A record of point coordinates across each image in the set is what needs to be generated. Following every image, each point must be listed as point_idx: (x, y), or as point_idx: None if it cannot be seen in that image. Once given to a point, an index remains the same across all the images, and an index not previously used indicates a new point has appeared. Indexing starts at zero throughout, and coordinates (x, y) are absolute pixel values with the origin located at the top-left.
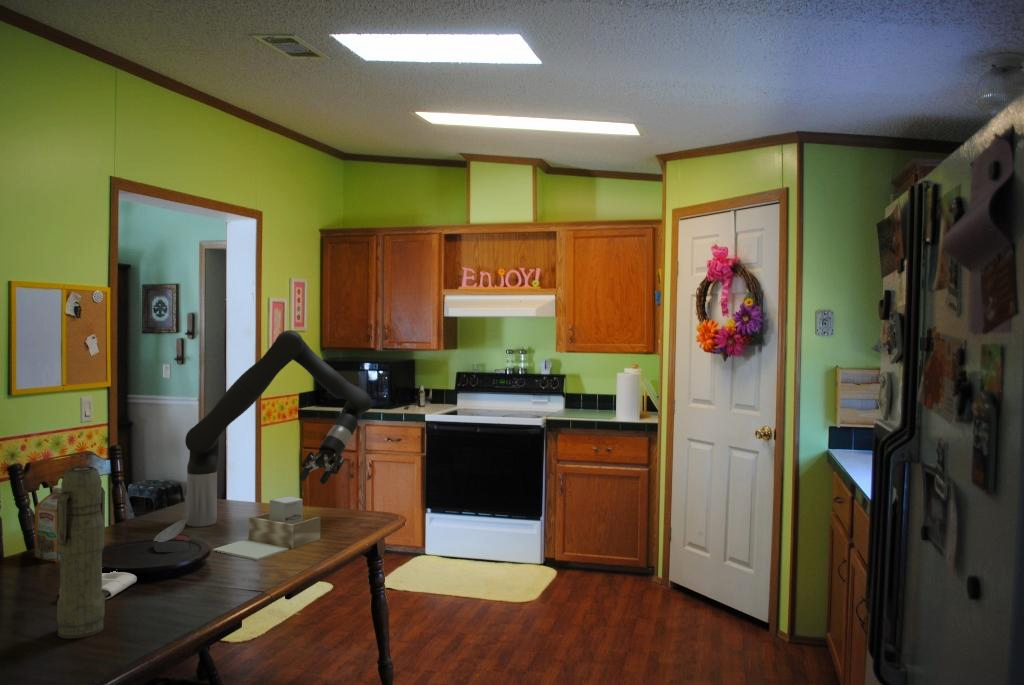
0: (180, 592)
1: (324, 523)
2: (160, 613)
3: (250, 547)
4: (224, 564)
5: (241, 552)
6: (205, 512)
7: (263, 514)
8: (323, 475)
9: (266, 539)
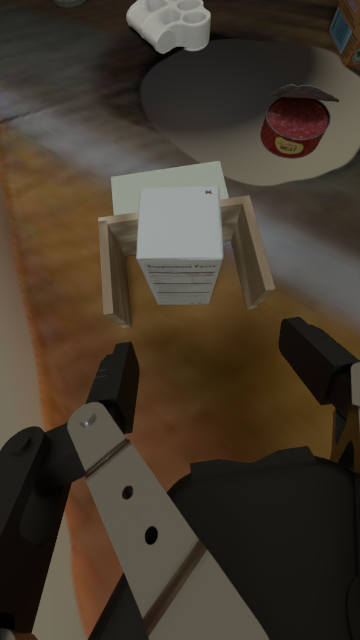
0: (84, 71)
1: (239, 442)
2: (46, 41)
3: None
4: (138, 144)
5: (161, 178)
6: None
7: (254, 234)
8: (112, 367)
9: None
